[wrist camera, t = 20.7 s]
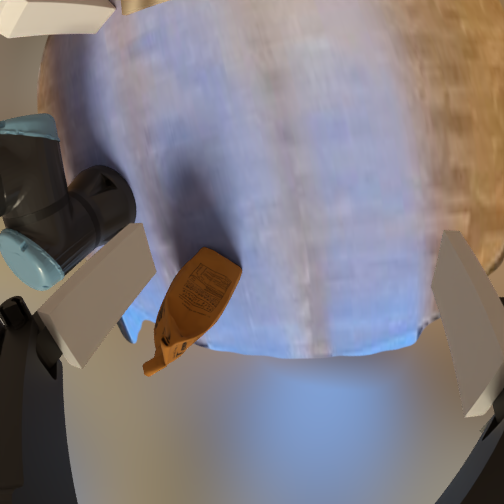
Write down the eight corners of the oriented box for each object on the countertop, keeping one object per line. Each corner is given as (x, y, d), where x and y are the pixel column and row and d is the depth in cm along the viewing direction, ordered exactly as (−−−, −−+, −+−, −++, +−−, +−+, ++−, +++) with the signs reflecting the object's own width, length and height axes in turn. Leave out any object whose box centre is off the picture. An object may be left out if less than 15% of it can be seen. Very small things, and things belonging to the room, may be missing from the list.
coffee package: (175, 278, 60) (116, 360, 42) (204, 236, 53) (138, 324, 35) (216, 308, 61) (170, 397, 43) (251, 271, 54) (205, 370, 36)
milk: (81, 17, 36) (-21, 21, 18) (101, -9, 33) (-3, -16, 15) (96, 34, 38) (-12, 42, 20) (117, 8, 35) (8, 2, 16)
